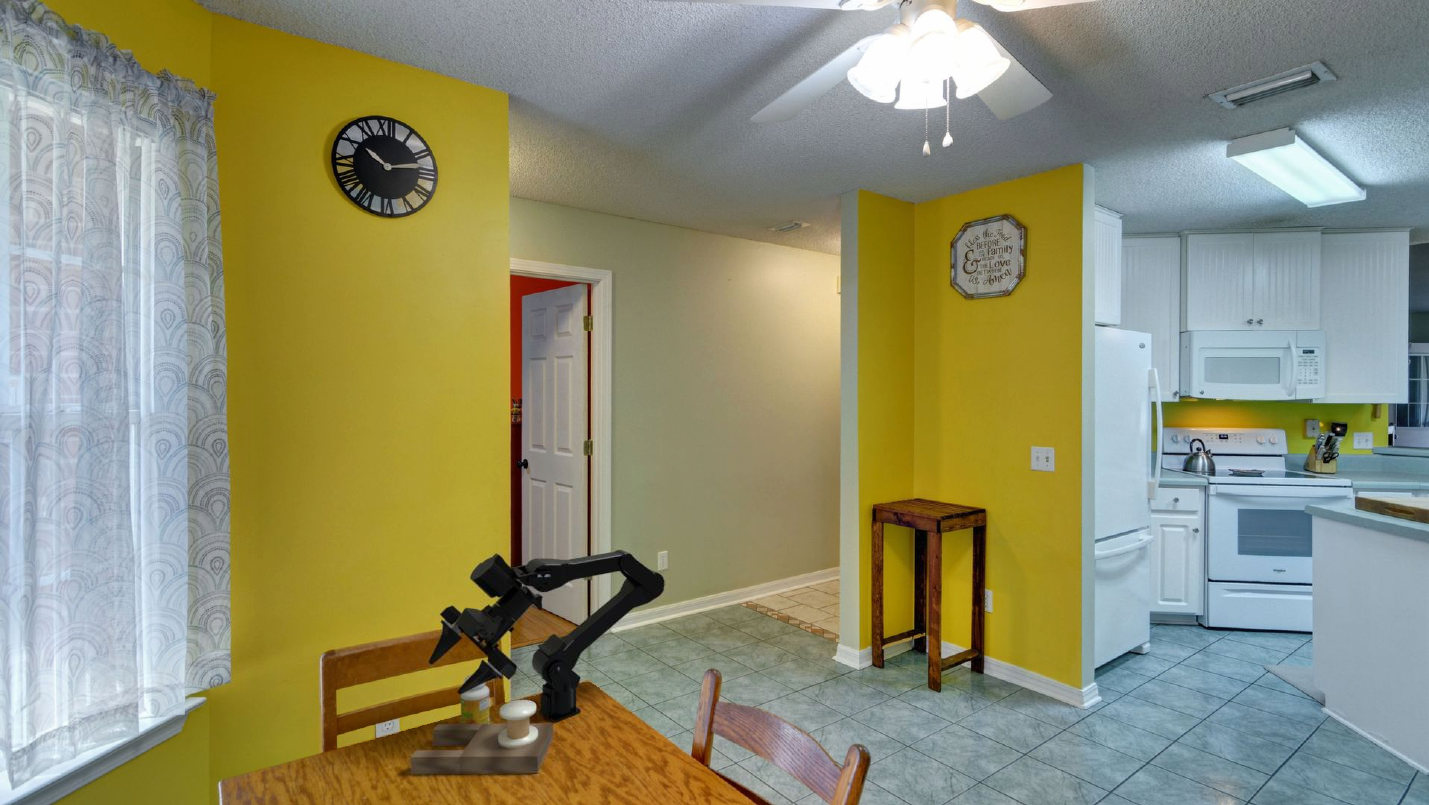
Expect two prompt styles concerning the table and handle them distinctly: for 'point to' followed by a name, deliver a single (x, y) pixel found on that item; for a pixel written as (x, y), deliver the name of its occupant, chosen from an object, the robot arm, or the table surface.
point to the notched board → (480, 751)
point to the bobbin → (518, 725)
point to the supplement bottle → (475, 705)
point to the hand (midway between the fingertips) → (443, 678)
